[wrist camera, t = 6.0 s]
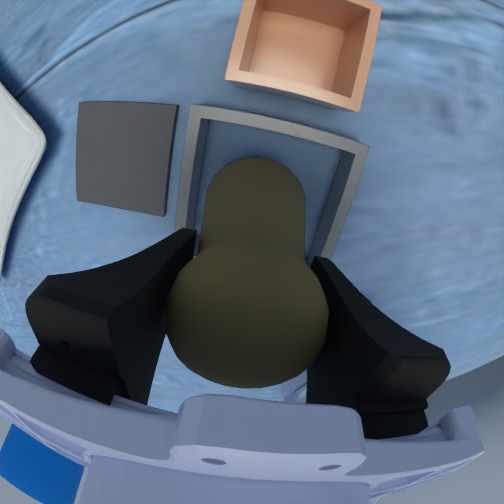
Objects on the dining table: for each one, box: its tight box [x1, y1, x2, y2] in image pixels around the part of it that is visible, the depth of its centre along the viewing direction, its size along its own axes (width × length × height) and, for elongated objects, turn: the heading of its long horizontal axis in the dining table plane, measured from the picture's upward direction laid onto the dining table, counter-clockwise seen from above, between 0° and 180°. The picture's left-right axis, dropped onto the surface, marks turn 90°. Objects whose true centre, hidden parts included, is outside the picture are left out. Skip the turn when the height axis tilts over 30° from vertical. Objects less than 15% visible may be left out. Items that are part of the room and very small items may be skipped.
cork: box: [165, 157, 329, 388], centre depth 12 cm, size 6×6×11 cm
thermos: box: [0, 424, 84, 504], centre depth 24 cm, size 11×11×25 cm
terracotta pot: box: [225, 0, 382, 113], centre depth 13 cm, size 7×7×6 cm
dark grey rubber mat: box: [76, 102, 179, 217], centre depth 19 cm, size 9×9×1 cm
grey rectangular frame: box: [174, 104, 370, 268], centre depth 20 cm, size 12×12×3 cm
